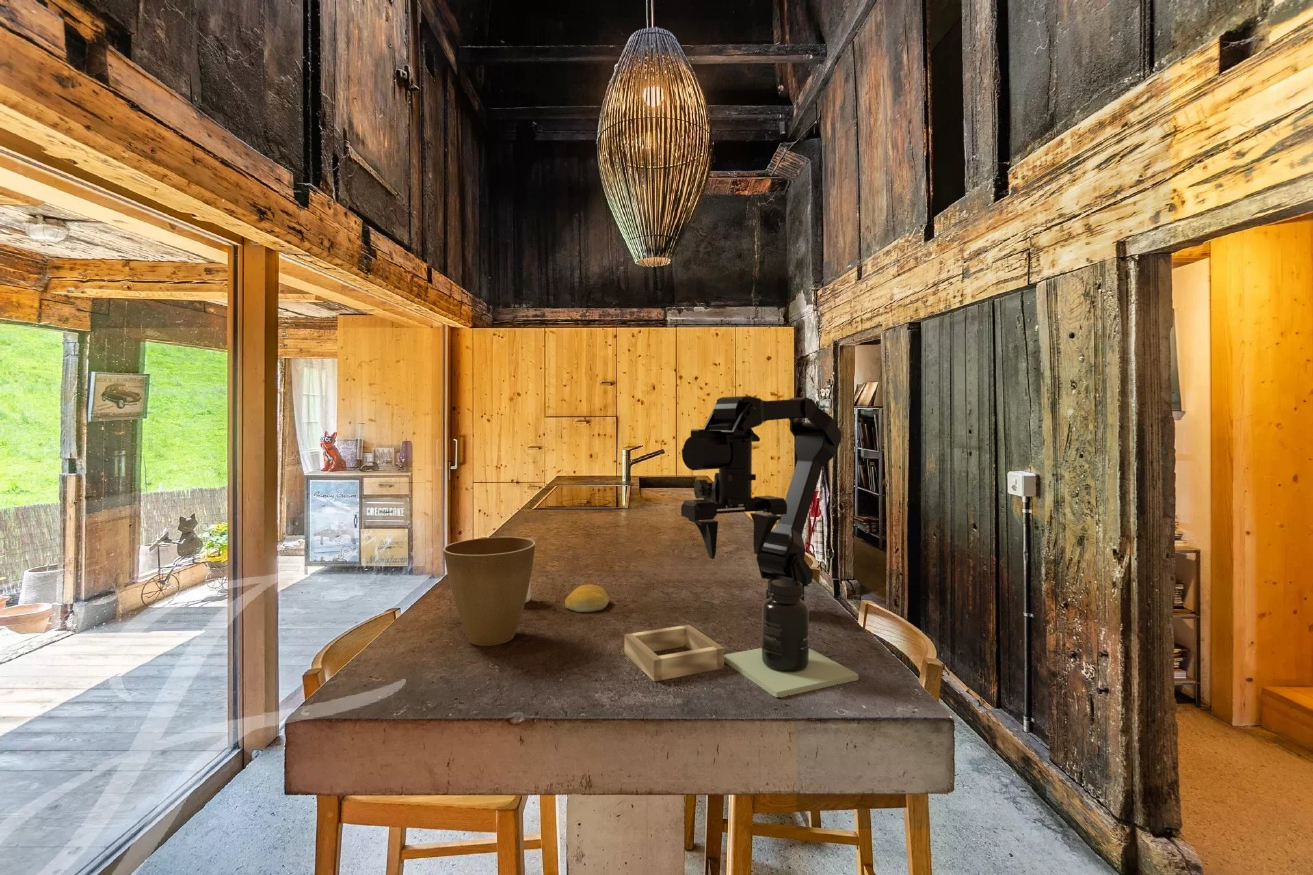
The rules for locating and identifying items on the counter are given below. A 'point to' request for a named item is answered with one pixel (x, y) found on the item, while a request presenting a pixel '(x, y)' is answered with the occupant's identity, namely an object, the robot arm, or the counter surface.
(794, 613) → the supplement bottle
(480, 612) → the plant pot
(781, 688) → the sage board
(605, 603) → the bread roll
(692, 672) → the birch collar
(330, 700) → the counter surface
